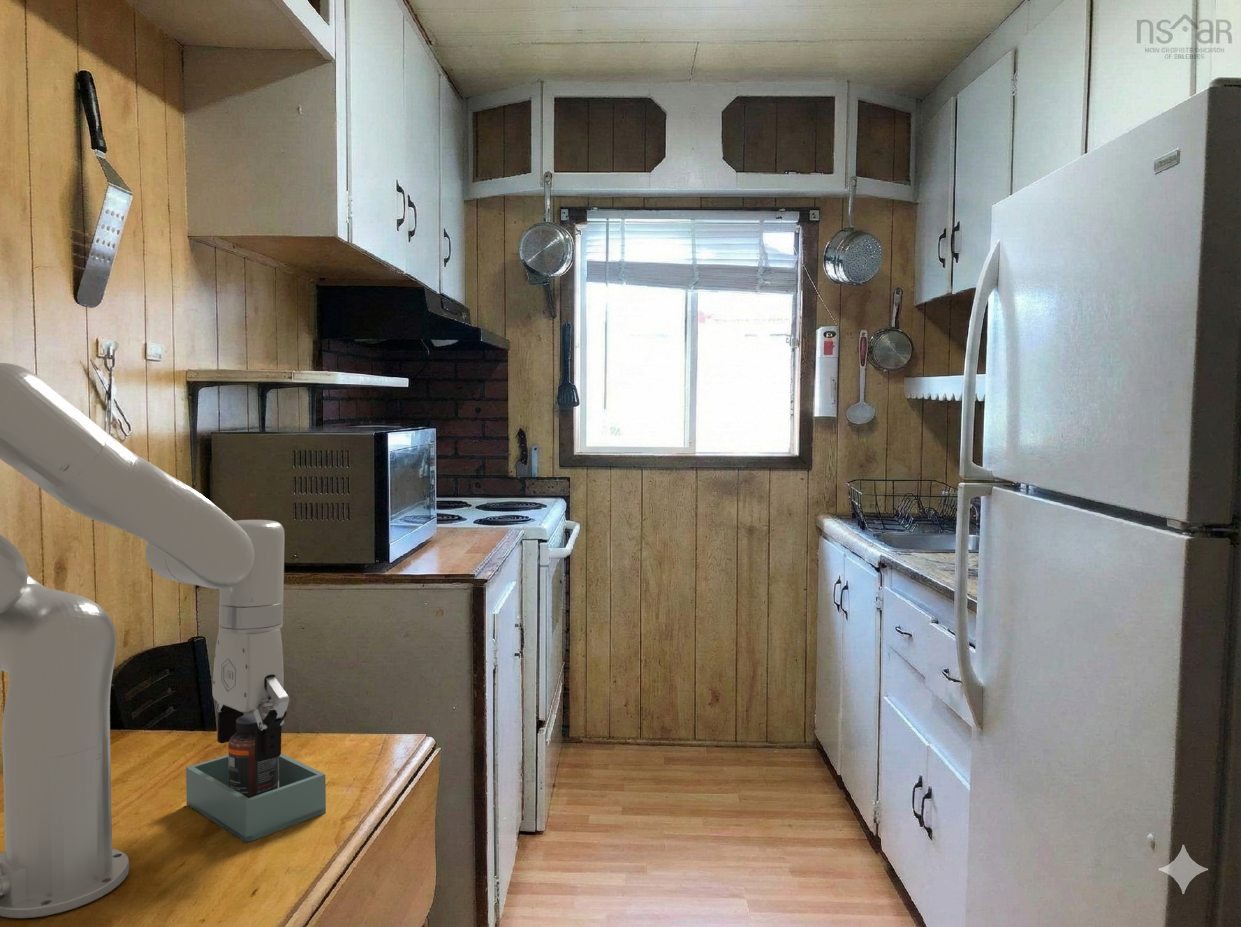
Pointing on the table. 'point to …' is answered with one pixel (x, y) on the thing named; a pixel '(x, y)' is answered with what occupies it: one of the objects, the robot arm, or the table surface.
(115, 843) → the table surface
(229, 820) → the box
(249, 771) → the supplement bottle
